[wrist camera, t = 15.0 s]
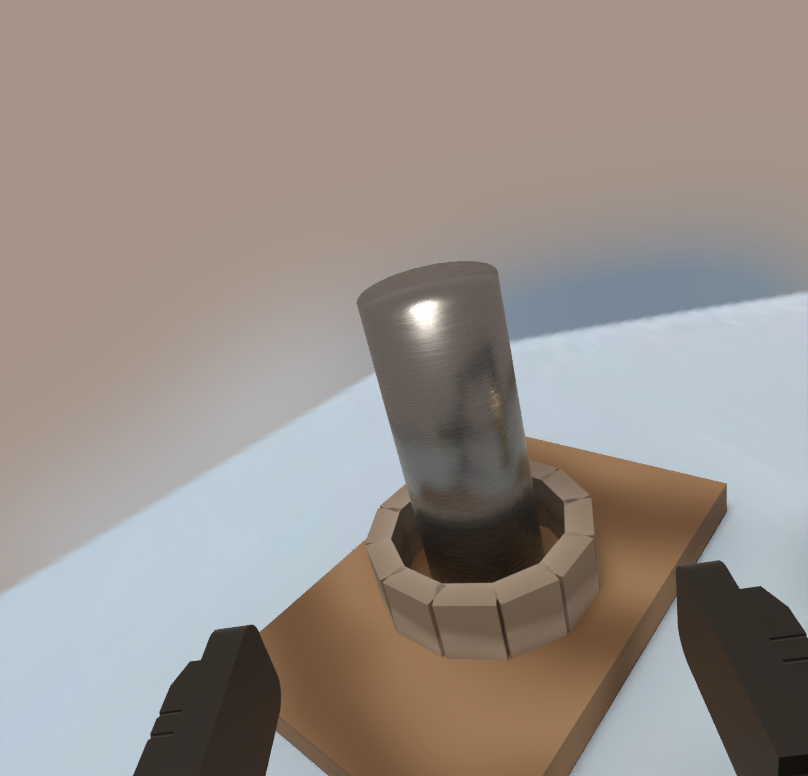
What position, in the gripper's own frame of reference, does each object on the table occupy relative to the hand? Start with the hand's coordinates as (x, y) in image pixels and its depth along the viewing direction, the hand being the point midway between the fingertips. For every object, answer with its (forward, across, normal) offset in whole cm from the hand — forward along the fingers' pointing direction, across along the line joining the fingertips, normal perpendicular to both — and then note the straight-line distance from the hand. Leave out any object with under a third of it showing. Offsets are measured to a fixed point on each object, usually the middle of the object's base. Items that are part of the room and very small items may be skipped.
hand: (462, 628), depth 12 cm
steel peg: (+11, 0, +8) cm, 14 cm away
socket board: (+11, 0, +10) cm, 15 cm away
